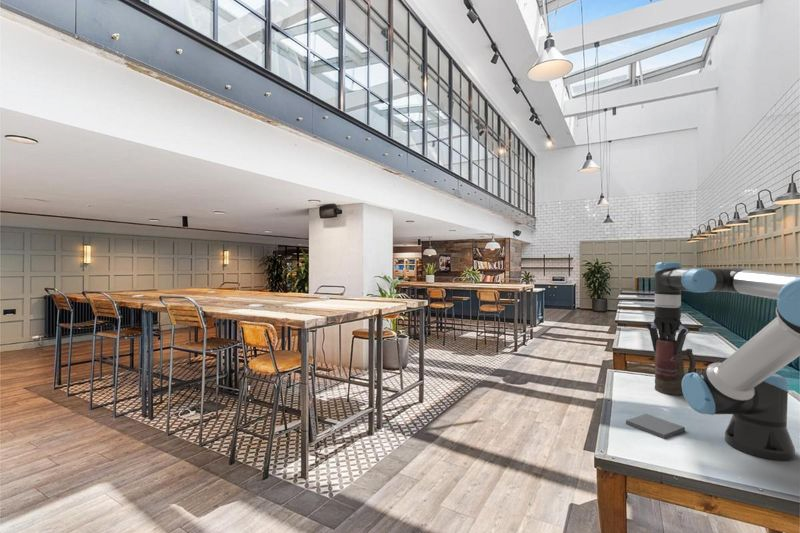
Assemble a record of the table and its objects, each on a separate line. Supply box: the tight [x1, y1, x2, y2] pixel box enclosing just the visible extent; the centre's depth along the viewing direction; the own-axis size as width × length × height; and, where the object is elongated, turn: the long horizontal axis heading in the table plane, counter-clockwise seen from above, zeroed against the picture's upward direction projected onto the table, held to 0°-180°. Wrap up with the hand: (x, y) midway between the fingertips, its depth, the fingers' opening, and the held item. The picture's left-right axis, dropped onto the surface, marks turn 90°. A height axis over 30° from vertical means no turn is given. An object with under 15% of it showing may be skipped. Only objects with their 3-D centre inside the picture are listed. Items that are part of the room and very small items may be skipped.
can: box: [654, 338, 678, 382], centre depth 131 cm, size 6×6×14 cm
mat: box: [625, 413, 686, 439], centre depth 125 cm, size 12×12×1 cm
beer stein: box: [653, 348, 697, 396], centre depth 159 cm, size 15×11×20 cm
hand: (666, 373), depth 130 cm, fingers closed
